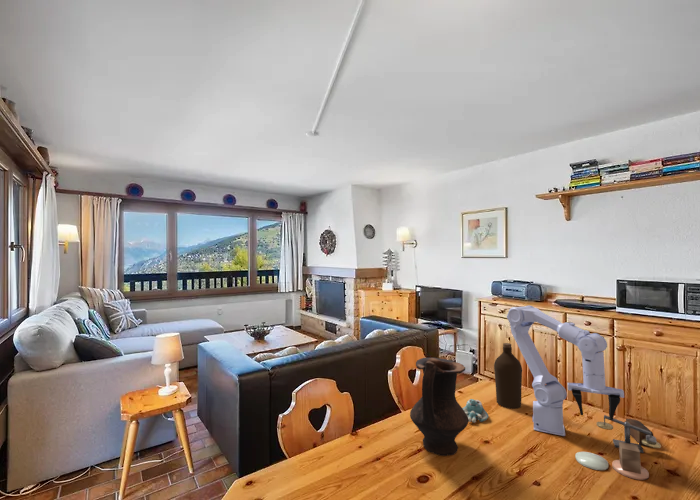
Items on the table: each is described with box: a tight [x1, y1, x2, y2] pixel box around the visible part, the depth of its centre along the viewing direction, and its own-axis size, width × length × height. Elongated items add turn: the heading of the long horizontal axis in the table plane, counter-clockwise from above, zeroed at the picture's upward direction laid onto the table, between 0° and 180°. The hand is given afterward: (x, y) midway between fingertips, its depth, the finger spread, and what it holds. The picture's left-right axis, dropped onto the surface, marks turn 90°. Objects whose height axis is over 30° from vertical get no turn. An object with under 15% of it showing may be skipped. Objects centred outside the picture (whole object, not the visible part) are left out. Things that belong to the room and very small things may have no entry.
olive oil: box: [493, 342, 523, 410], centre depth 143 cm, size 11×11×25 cm
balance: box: [595, 414, 662, 454], centre depth 109 cm, size 16×4×9 cm, turn 60°
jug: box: [409, 357, 470, 457], centre depth 110 cm, size 21×18×30 cm
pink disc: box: [611, 459, 650, 481], centre depth 97 cm, size 8×8×1 cm
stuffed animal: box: [462, 398, 489, 424], centre depth 131 cm, size 11×7×12 cm
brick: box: [624, 418, 655, 447], centre depth 114 cm, size 11×4×5 cm, turn 162°
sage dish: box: [574, 451, 609, 471], centre depth 101 cm, size 8×8×1 cm
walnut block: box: [618, 442, 642, 474], centre depth 97 cm, size 4×4×6 cm
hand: (596, 416), depth 108 cm, fingers open, 7 cm apart
